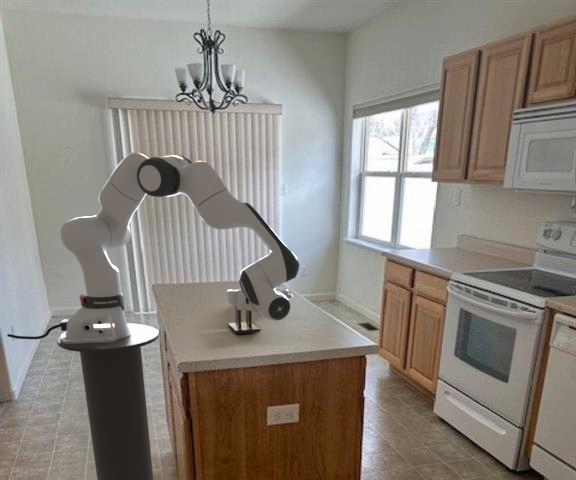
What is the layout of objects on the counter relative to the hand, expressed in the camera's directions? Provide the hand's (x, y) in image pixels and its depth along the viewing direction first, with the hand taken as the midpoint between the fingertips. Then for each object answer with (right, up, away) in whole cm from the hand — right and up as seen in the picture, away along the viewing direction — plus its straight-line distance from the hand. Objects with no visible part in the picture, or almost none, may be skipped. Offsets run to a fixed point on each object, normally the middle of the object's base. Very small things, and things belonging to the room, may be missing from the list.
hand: (252, 290), depth 182 cm
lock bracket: (-4, -11, +17) cm, 21 cm away
